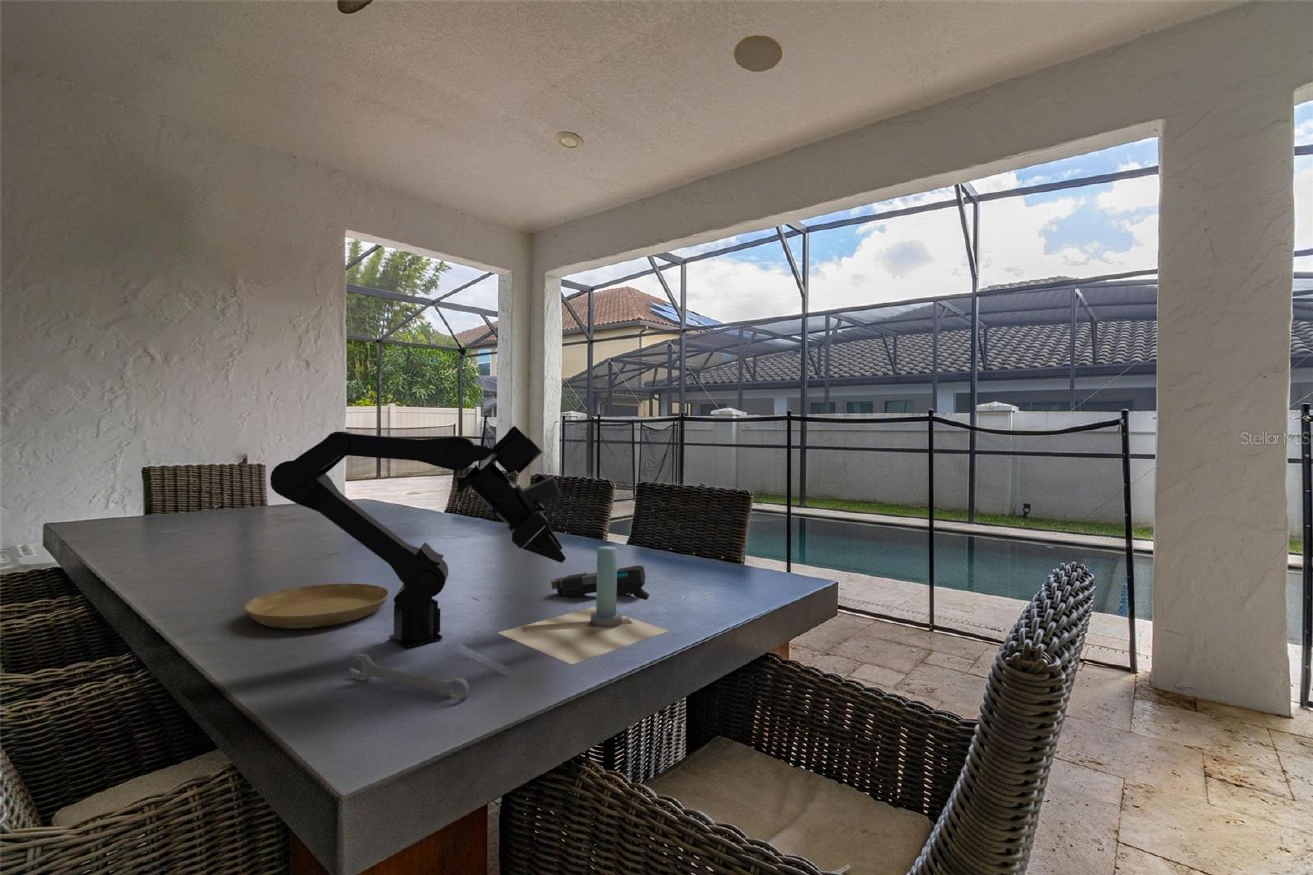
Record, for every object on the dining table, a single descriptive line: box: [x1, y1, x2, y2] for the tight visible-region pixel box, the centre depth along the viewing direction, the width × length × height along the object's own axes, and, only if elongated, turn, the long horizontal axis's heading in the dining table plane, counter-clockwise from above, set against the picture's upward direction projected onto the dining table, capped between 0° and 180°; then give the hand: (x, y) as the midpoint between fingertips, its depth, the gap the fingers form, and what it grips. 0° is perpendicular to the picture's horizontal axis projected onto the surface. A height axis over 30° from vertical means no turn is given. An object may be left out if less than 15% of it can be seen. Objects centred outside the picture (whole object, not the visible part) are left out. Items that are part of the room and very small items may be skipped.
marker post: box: [591, 545, 623, 628], centre depth 110 cm, size 6×6×14 cm
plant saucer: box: [244, 582, 390, 630], centre depth 116 cm, size 24×24×3 cm
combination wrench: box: [349, 653, 470, 701], centre depth 83 cm, size 4×1×20 cm
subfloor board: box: [497, 606, 671, 666], centre depth 105 cm, size 22×20×1 cm
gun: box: [550, 565, 650, 601], centre depth 130 cm, size 4×20×10 cm, turn 79°
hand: (562, 555), depth 108 cm, fingers open, 9 cm apart
